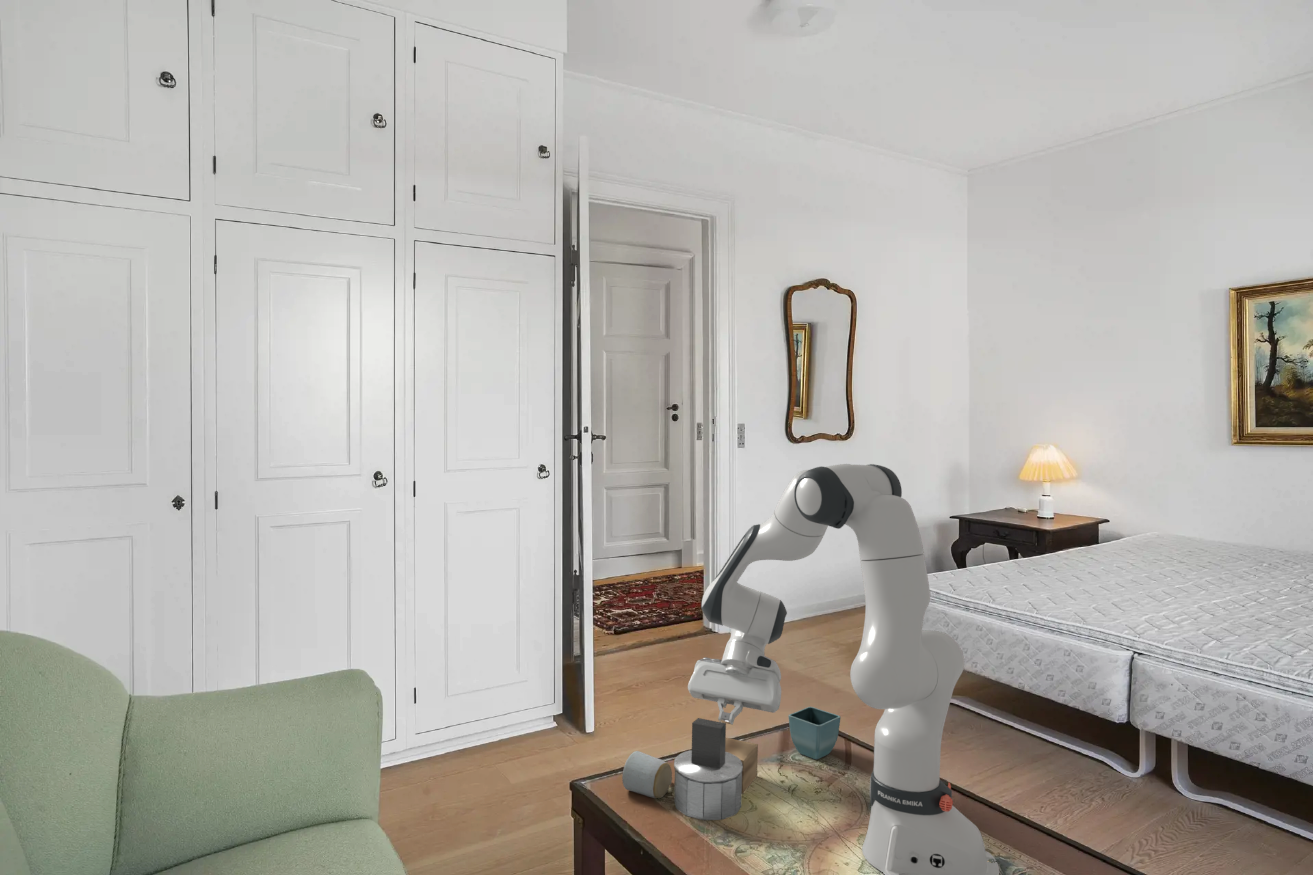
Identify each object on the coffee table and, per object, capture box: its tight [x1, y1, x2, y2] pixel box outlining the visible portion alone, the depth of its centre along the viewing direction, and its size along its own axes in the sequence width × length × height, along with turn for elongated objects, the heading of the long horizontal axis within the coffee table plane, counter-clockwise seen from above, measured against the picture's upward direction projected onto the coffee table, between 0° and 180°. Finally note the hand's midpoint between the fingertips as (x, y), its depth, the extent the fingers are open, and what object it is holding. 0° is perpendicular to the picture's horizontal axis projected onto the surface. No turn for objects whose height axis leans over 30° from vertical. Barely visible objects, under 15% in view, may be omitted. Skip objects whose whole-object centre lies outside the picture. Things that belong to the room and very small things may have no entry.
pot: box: [673, 769, 743, 821], centre depth 156 cm, size 13×13×7 cm
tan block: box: [725, 737, 759, 795], centre depth 166 cm, size 10×9×7 cm
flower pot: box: [788, 706, 842, 760], centre depth 180 cm, size 9×9×9 cm
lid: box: [673, 717, 743, 783], centre depth 155 cm, size 14×14×9 cm
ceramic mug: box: [621, 750, 673, 799], centre depth 161 cm, size 11×8×8 cm
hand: (725, 722), depth 165 cm, fingers closed
